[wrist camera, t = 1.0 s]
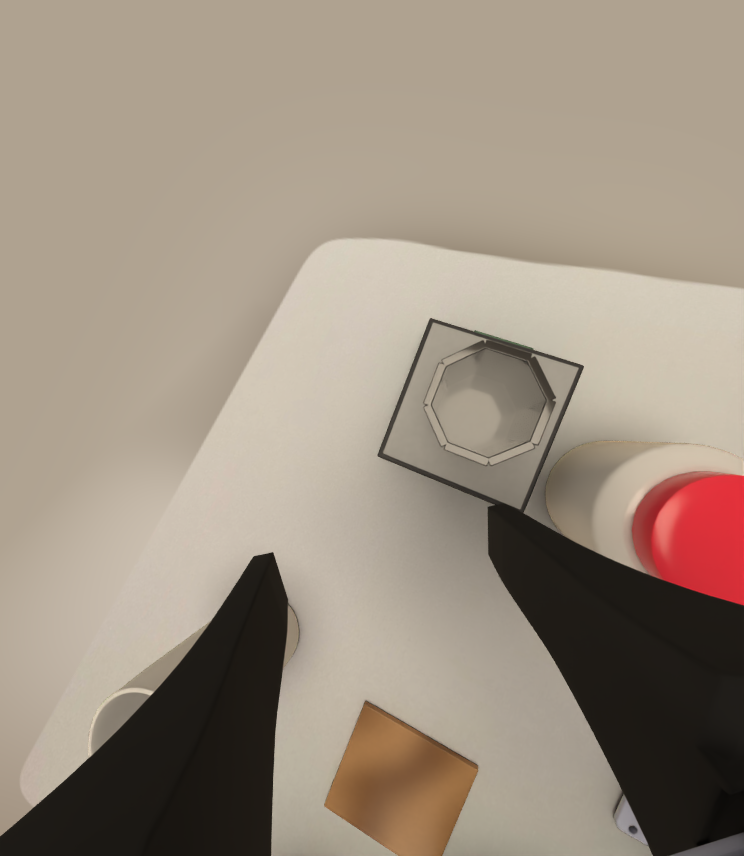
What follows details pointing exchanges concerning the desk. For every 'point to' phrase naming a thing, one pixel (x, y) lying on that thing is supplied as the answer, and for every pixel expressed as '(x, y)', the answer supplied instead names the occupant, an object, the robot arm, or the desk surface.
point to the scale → (423, 454)
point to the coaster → (400, 785)
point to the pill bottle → (656, 510)
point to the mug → (156, 686)
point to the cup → (489, 402)
